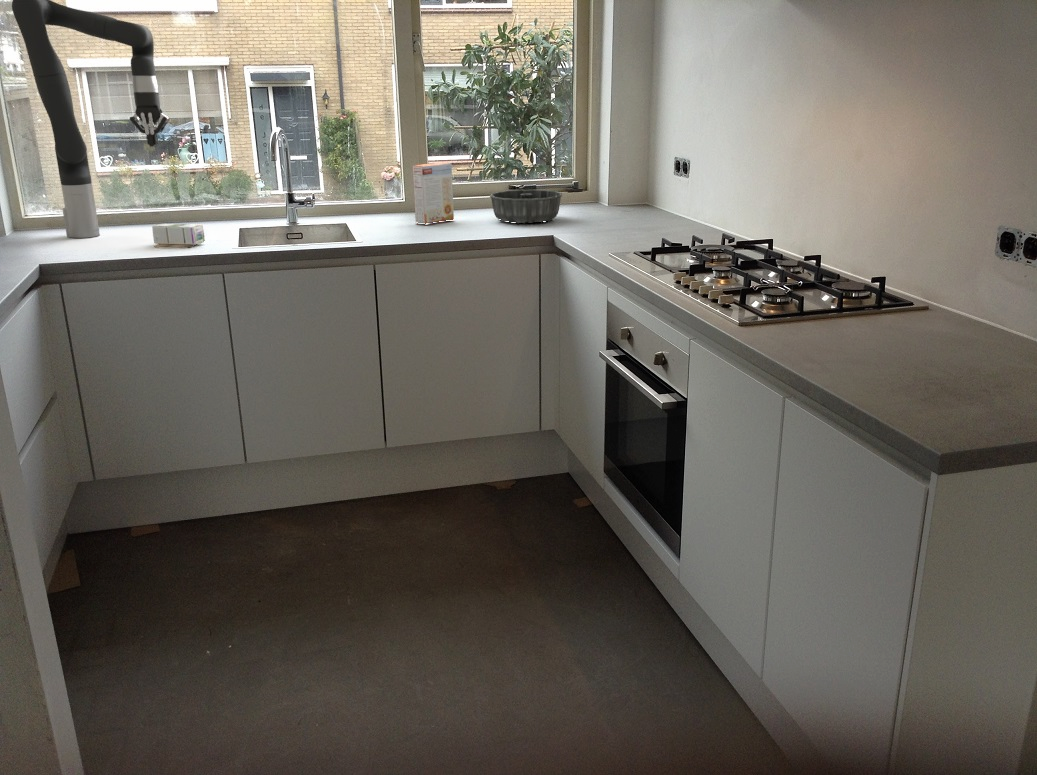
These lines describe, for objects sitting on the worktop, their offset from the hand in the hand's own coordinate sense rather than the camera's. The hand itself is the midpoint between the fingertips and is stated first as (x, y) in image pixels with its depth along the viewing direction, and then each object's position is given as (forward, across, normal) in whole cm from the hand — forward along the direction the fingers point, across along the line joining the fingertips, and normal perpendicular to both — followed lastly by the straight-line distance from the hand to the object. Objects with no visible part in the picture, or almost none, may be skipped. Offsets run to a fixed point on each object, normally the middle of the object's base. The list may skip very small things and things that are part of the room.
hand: (153, 146), depth 296 cm
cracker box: (+29, +87, +31) cm, 97 cm away
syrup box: (+26, +6, -18) cm, 32 cm away
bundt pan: (+29, +120, +37) cm, 129 cm away
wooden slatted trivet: (+29, +13, -18) cm, 37 cm away
